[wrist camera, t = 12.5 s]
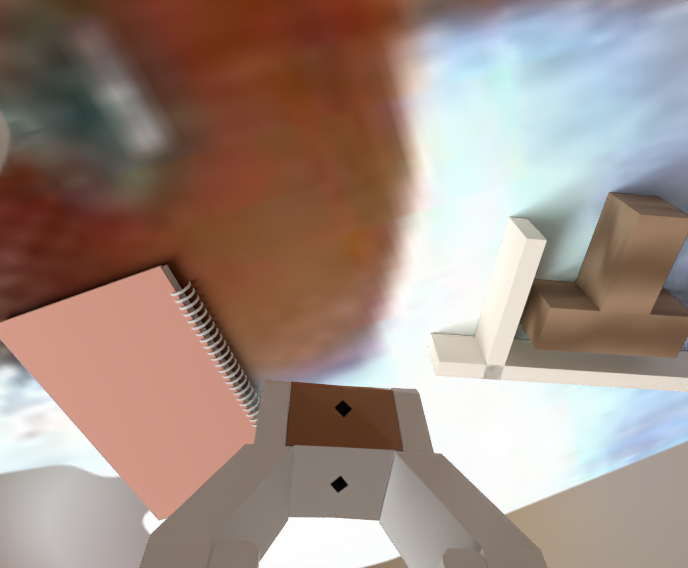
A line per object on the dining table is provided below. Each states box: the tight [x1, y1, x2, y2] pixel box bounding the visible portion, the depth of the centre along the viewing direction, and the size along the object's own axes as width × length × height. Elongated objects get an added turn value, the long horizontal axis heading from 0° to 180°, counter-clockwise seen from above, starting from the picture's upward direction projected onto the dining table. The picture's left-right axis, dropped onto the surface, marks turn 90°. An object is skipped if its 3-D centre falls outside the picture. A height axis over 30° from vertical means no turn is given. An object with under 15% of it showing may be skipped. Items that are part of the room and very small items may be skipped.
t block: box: [519, 192, 688, 358], centre depth 40 cm, size 12×12×4 cm
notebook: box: [0, 265, 260, 520], centre depth 48 cm, size 27×17×2 cm, turn 20°
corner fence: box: [427, 217, 688, 392], centre depth 42 cm, size 13×26×4 cm, turn 84°
